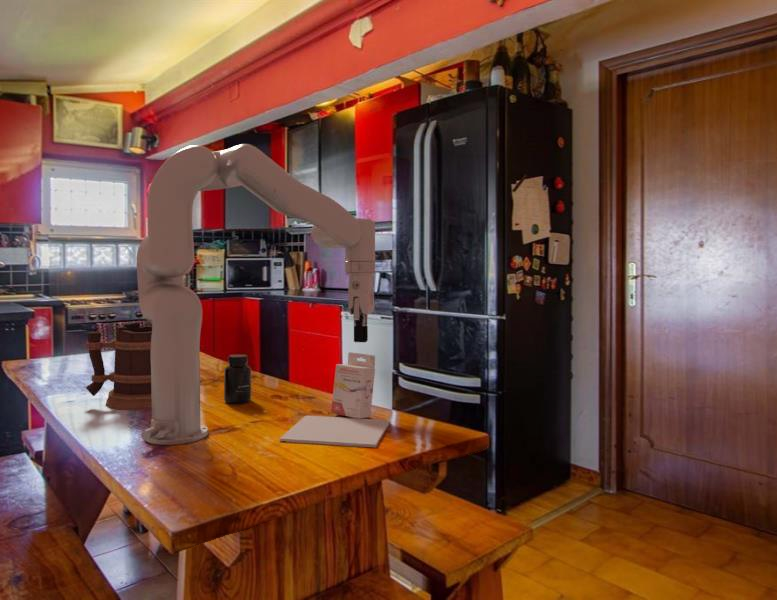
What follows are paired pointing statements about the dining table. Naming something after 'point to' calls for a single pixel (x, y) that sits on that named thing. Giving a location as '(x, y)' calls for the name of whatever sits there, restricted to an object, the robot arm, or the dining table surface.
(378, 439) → the mat
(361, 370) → the ink cartridge box
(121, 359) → the mug
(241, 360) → the supplement bottle
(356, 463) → the dining table surface
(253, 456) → the dining table surface
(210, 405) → the dining table surface
